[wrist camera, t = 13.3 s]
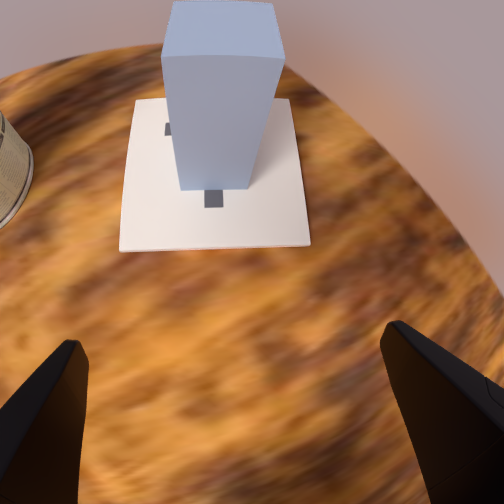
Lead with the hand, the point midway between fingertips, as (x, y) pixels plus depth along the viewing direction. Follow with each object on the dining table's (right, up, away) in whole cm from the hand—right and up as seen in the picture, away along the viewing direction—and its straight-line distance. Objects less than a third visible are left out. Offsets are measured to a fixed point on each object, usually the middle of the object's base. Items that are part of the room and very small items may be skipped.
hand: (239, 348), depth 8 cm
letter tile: (-3, +10, +16) cm, 19 cm away
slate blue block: (-3, +10, +15) cm, 18 cm away
